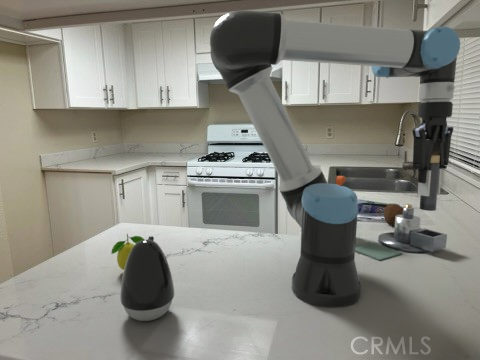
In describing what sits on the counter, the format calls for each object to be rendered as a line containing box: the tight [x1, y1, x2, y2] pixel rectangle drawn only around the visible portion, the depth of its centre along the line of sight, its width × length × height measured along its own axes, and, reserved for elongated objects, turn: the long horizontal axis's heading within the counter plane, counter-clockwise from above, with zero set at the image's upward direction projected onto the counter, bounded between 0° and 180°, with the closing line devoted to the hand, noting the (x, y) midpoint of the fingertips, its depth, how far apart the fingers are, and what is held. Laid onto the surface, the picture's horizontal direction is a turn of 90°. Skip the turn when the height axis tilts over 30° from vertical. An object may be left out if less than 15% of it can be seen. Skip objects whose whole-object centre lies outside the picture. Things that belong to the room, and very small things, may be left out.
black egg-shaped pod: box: [119, 235, 175, 322], centre depth 70 cm, size 10×10×15 cm
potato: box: [383, 203, 404, 226], centre depth 130 cm, size 7×10×8 cm
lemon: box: [110, 233, 145, 271], centre depth 90 cm, size 7×6×10 cm
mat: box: [355, 242, 403, 262], centre depth 104 cm, size 10×10×1 cm
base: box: [377, 231, 431, 254], centre depth 112 cm, size 16×16×1 cm
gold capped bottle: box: [419, 154, 440, 212], centre depth 92 cm, size 4×4×14 cm
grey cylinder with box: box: [393, 203, 448, 253], centre depth 108 cm, size 7×14×11 cm, turn 31°
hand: (428, 194), depth 92 cm, fingers closed on gold capped bottle, 4 cm apart
